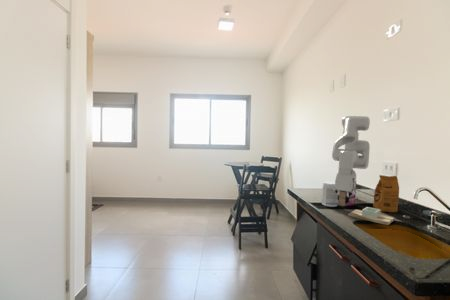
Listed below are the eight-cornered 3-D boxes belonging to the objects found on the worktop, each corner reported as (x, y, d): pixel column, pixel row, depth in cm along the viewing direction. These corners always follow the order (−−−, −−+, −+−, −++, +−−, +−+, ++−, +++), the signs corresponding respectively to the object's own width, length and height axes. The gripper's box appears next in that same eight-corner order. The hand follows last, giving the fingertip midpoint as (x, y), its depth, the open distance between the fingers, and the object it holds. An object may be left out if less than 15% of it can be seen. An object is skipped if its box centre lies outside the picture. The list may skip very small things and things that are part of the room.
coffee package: (370, 207, 178) (373, 173, 176) (390, 208, 177) (393, 174, 176) (378, 212, 168) (381, 176, 166) (399, 213, 167) (402, 177, 166)
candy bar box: (348, 203, 187) (350, 179, 185) (355, 205, 182) (357, 180, 181) (337, 204, 181) (338, 180, 180) (343, 206, 177) (345, 181, 176)
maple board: (356, 211, 167) (356, 209, 166) (394, 220, 153) (394, 217, 153) (348, 215, 157) (348, 213, 157) (388, 225, 143) (388, 222, 143)
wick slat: (341, 202, 167) (342, 189, 167) (347, 204, 165) (348, 190, 164) (338, 204, 164) (339, 191, 163) (344, 205, 161) (345, 192, 161)
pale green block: (366, 212, 160) (367, 206, 160) (380, 215, 156) (380, 209, 155) (361, 215, 154) (362, 209, 154) (375, 218, 149) (376, 212, 149)
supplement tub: (340, 206, 178) (342, 183, 177) (331, 208, 173) (332, 184, 172) (327, 202, 186) (329, 181, 185) (318, 204, 181) (319, 182, 180)
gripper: (362, 173, 159) (360, 204, 161) (333, 169, 171) (332, 198, 173) (358, 174, 154) (355, 206, 156) (328, 170, 165) (326, 200, 167)
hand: (343, 201), depth 164 cm, fingers closed on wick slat, 3 cm apart
